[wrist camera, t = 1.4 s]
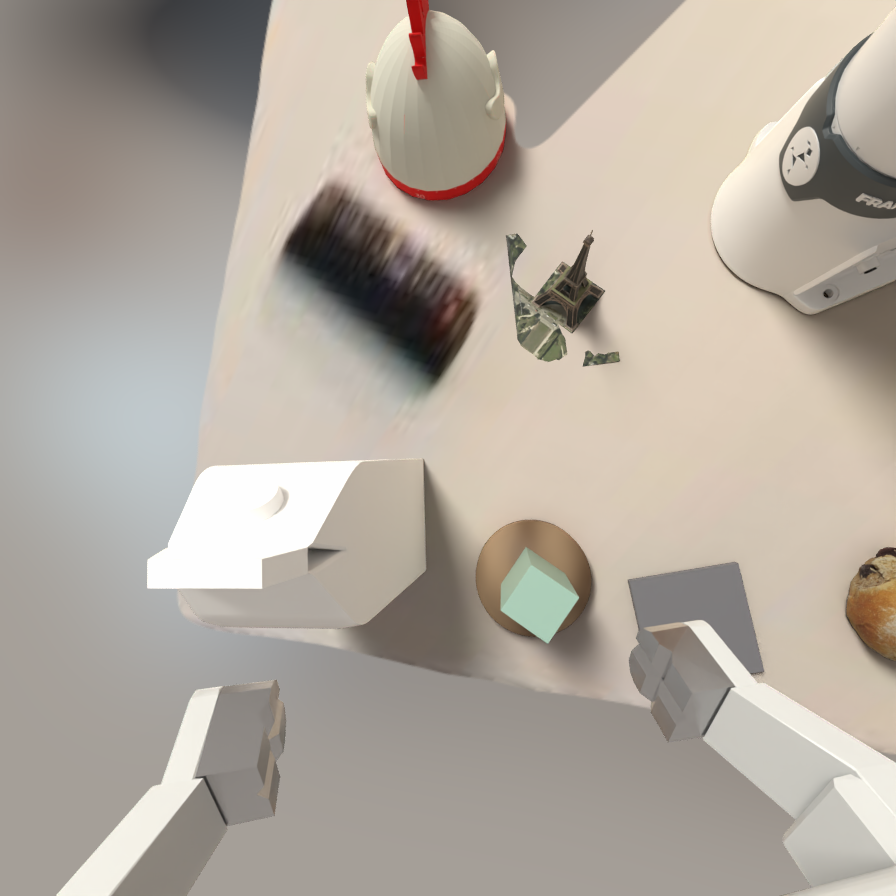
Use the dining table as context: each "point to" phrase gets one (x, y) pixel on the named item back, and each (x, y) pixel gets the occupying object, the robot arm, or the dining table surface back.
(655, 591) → the charcoal mat
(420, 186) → the kitchen timer
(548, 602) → the mint rectangular pillar
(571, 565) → the post stand
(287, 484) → the milk
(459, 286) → the dining table surface
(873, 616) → the bread roll
